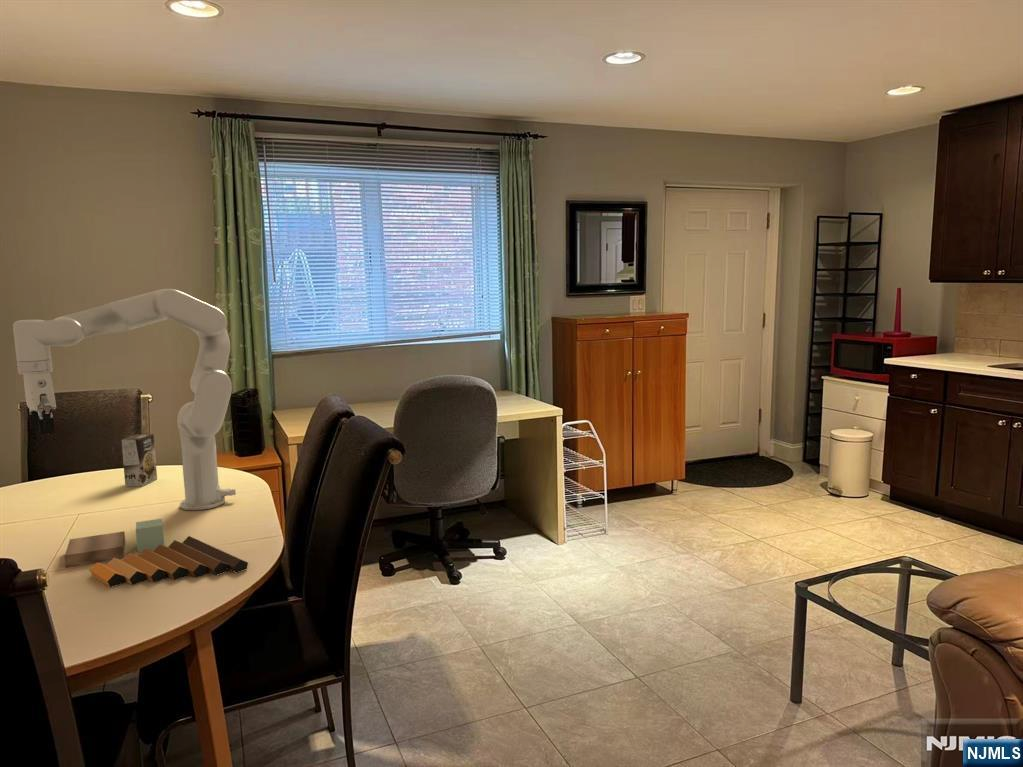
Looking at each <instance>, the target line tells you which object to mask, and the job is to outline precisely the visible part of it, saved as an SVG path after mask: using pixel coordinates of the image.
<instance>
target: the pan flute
mask: <svg viewBox="0 0 1023 767" xmlns="http://www.w3.org/2000/svg"><path fill="white" fill-rule="evenodd" d="M248 566H249V562H247V561H246V560H244V559H241V558H239V557H237V556H235V555H232V554H230V553H228V552H226V551H223V550H221V549H220V548H216V547H215V546H213V545H210V544H209V543H205V542H204V541H201V540H199V539H196V538H195V537H191V536H190V535H188V536H187V537H186V538H185V539H184V540H183V541H182V542H180V541H178V540H176V539H174V540H173V541H172V542H171V543H170V544H169V545H168V546H167V545H164V546H163V545H161V544H160V545H159V546H158V547H157V548H156V549H153V550H148V549H144V550H143V551H141V552H139V554H138V555H136V554H135V553H134V554H133V553H131V552H129V553H128V554H127V555H126V556H124V558H122V559H117V558H113V559H112V560H109V561H108V562H107V564H103V563H101V562H97V563H94V565H93V566H92V567H91V568H90V569H89V572H90V573H91V576H92V575H93V576H92V577H93V578H95V577H96V578H95V579H97V580H98V579H99V580H98V581H100V582H101V581H102V582H101V583H103V584H104V583H105V585H106V586H108V587H109V588H113V587H116V586H119V585H122V583H124V581H125V582H127V583H128V584H130V585H131V586H134V585H136V583H137V584H140V583H142V582H145V578H146V579H147V580H149V581H150V582H153V583H156V581H157V582H160V581H162V579H163V580H166V578H167V577H168V576H169V579H172V580H174V581H175V580H176V579H177V580H180V579H182V577H183V578H185V577H184V576H187V574H188V575H189V574H190V576H191V575H192V576H191V577H193V576H194V578H195V577H196V578H199V577H202V576H206V575H207V574H208V571H209V573H210V572H211V574H212V573H213V575H214V574H215V576H218V575H217V574H219V575H221V574H220V573H222V574H224V573H223V572H225V571H227V572H228V570H229V569H231V570H232V571H231V570H230V571H231V572H233V571H235V572H238V571H241V570H244V569H247V570H248ZM227 568H228V569H227ZM244 571H245V570H244ZM235 572H234V573H235ZM241 572H242V571H241ZM225 573H226V572H225ZM238 573H239V572H238ZM166 575H167V576H166ZM179 578H180V579H179ZM139 582H140V583H139ZM115 585H116V586H115ZM112 586H113V587H112Z"/></svg>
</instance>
